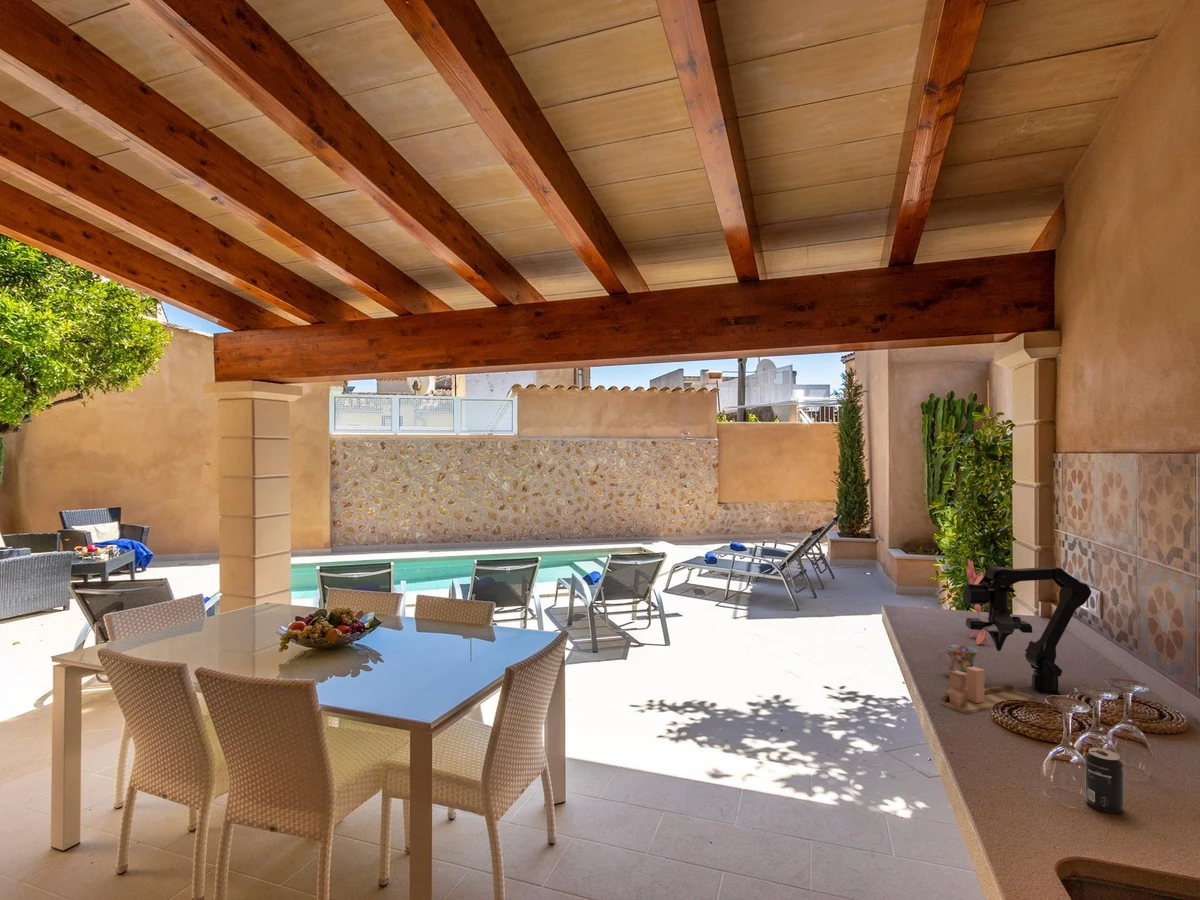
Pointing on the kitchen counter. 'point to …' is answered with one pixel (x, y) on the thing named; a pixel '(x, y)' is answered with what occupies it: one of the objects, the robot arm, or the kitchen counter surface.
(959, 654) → the mug
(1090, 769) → the beverage can
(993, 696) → the trammel board
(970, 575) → the figurine
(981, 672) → the block
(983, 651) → the kitchen counter surface
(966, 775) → the kitchen counter surface
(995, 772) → the kitchen counter surface
